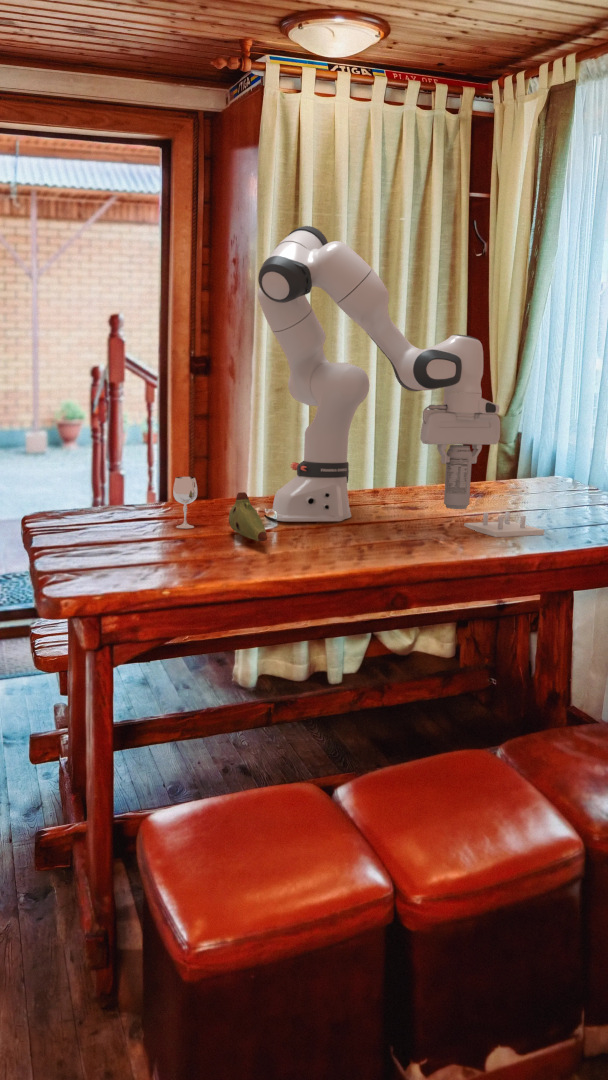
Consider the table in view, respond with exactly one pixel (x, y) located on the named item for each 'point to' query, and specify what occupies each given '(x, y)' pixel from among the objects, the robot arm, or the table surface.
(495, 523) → the grey peg board
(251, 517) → the green banana
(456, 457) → the energy drink can
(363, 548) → the table surface
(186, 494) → the wineglass
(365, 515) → the table surface
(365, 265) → the robot arm
